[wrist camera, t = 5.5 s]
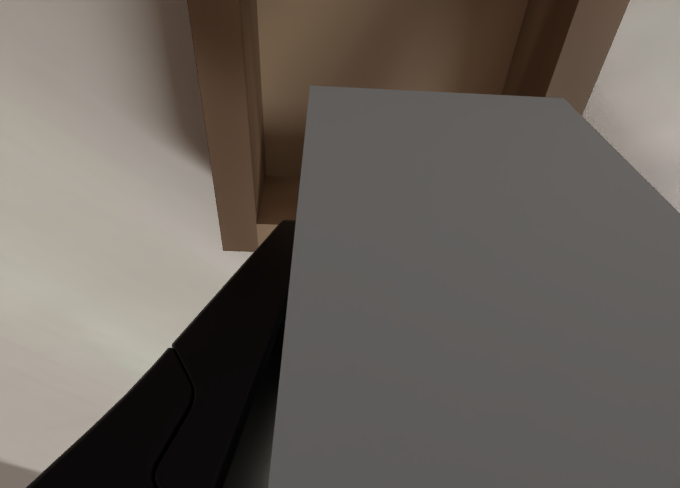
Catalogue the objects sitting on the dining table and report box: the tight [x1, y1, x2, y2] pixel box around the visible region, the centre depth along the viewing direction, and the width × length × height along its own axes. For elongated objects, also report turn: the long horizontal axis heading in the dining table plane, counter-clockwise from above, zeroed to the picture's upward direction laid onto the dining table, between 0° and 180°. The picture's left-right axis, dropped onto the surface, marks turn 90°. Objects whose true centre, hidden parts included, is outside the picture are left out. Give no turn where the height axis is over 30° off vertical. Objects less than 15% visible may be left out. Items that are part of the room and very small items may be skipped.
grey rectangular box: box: [268, 85, 680, 488], centre depth 7 cm, size 4×4×7 cm
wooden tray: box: [187, 0, 630, 252], centre depth 14 cm, size 10×10×4 cm
